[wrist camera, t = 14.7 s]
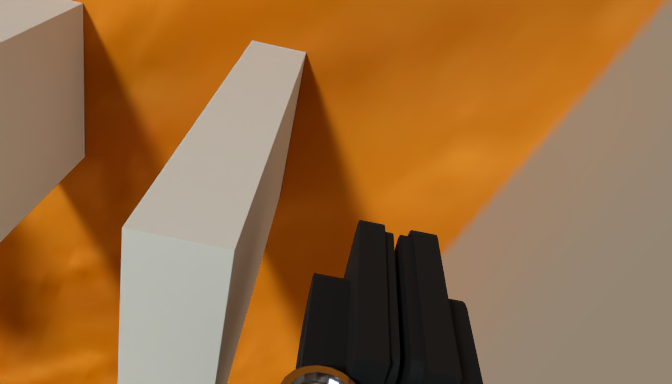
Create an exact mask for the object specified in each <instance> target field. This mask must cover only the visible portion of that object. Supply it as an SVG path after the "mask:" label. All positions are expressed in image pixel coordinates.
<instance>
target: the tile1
mask: <svg viewBox="0 0 672 384" xmlns="http://www.w3.org/2000/svg"><path fill="white" fill-rule="evenodd" d="M305 56H306V52H302V51H298V50H293V49H288V48H284V47H279V46H275V45H270V44H266V43H261V42H257V41H251V43H250V44H249V46H248V47H247V48H246V50H245V51H244V53H243V54H242V56H241V57H240V59H239V60H238V61H237V63H236V64H235V66H234V67H233V69H232V70H231V71H230V73H229V74H228V76H227V77H226V79H225V80H224V82H223V83H222V84H221V86H220V87H219V89H218V90H217V92H216V93H215V94H214V96H213V97H212V99H211V100H210V102H209V103H208V105H207V106H206V107H205V109H204V110H203V112H202V113H201V115H200V116H199V117H198V119H197V120H196V122H195V123H194V125H193V126H192V128H191V129H190V130H189V132H188V133H187V135H186V136H185V138H184V139H183V140H182V142H181V143H180V145H179V146H178V148H177V149H176V151H175V152H174V153H173V155H172V156H171V158H170V159H169V161H168V162H167V163H166V165H165V166H164V168H163V169H162V171H161V172H160V174H159V175H158V176H157V178H156V179H155V181H154V182H153V184H152V185H151V186H150V188H149V189H148V191H147V192H146V194H145V195H144V197H143V198H142V199H141V201H140V202H139V204H138V205H137V207H136V208H135V209H134V211H133V212H132V214H131V215H130V217H129V218H128V219H127V221H126V222H125V224H124V225H123V227H122V243H121V281H120V318H119V356H118V384H227V380H228V377H229V373H230V370H231V366H232V363H233V359H234V356H235V352H236V349H237V345H238V342H239V338H240V335H241V331H242V328H243V324H244V321H245V317H246V313H247V310H248V306H249V303H250V299H251V296H252V292H253V289H254V285H255V282H256V278H257V275H258V271H259V268H260V264H261V261H262V257H263V254H264V250H265V247H266V243H267V240H268V236H269V232H270V229H271V225H272V222H273V218H274V215H275V211H276V208H277V204H278V201H279V197H280V192H281V187H282V181H283V176H284V170H285V165H286V159H287V154H288V148H289V143H290V138H291V132H292V127H293V121H294V116H295V110H296V105H297V99H298V94H299V88H300V83H301V78H302V72H303V67H304V61H305Z"/></svg>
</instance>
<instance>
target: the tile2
mask: <svg viewBox="0 0 672 384" xmlns="http://www.w3.org/2000/svg"><path fill="white" fill-rule="evenodd" d="M84 157H85V130H84V35H83V3H80V2H75V1H71V0H0V242H1V241H2V240H3V239H4V238H5V237H6V236H7V235H8V234H9V233H10V232H11V231H12V230H13V229H14V228H15V227H16V226H17V225H18V224H19V223H20V222H21V221H22V220H23V219H24V218H25V217H26V216H27V215H28V214H29V213H30V212H31V211H32V210H33V209H34V208H35V207H36V206H37V205H38V204H39V203H40V202H41V201H42V200H43V199H44V198H45V197H46V196H47V195H48V194H49V193H50V191H51V190H52V189H53V188H54V187H55V186H56V185H57V184H58V183H59V182H60V181H61V180H62V179H63V178H64V177H65V176H66V175H67V174H68V173H69V172H70V171H71V170H72V169H73V168H74V167H75V166H76V165H77V164H78V163H79V162H80V161H81V160H82V159H83V158H84Z"/></svg>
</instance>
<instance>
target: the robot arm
mask: <svg viewBox="0 0 672 384" xmlns="http://www.w3.org/2000/svg"><path fill="white" fill-rule="evenodd" d="M281 384H483V381H482V377H481V372H480V367H479V363H478V358H477V353H476V349H475V344H474V339H473V335H472V330H471V325H470V321H469V316H468V311H467V307H466V305H465V303H464V302H463V301H458V300H453V299H448V294H447V289H446V283H445V277H444V271H443V266H442V260H441V254H440V249H439V243H438V238H437V235H433V234H428V233H423V232H418V231H413V230H411V231H410V232H409V234H408V236H404V235H400V236H399V238H398V241H397V244H396V247H395V251H394V236H393V233H388V232H385V225H382V224H377V223H372V222H367V221H362V220H359V222H358V225H357V229H356V232H355V236H354V240H353V244H352V248H351V252H350V256H349V260H348V264H347V268H346V272H345V276H344V279H342V278H337V277H332V276H327V275H321V274H316V273H314V275H313V278H312V283H311V287H310V292H309V296H308V301H307V306H306V310H305V316H304V321H303V326H302V332H301V338H300V344H299V351H298V357H297V364H296V370H294V371H292V372H291V373H290V374H288V375H287V376H286V377H285V378H284V379H283V381H282V383H281Z"/></svg>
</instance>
